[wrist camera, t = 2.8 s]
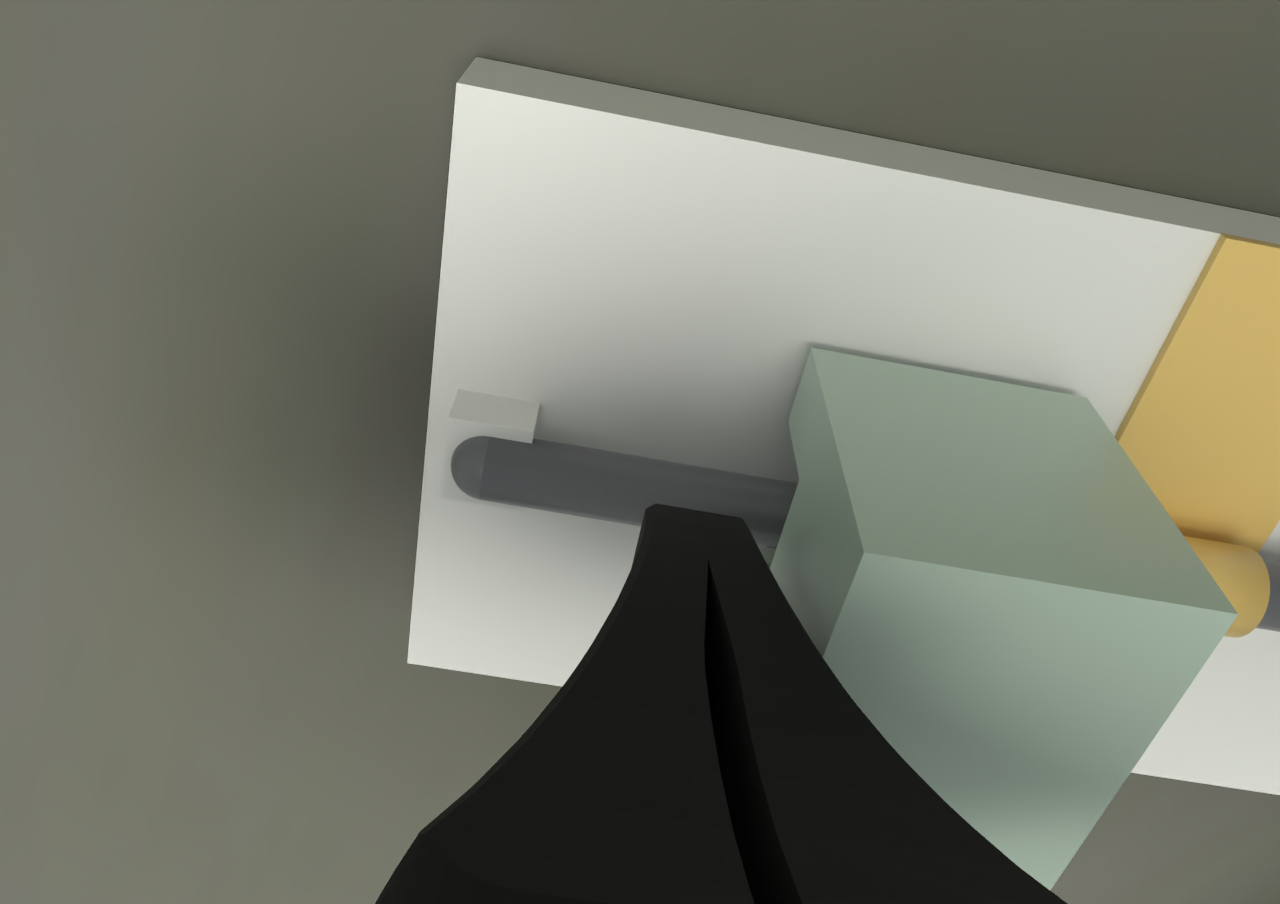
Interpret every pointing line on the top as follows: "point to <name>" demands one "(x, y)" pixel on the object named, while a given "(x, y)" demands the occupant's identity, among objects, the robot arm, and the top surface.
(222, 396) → the top surface
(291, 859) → the top surface
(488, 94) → the board
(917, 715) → the pale green notched block
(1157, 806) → the top surface
